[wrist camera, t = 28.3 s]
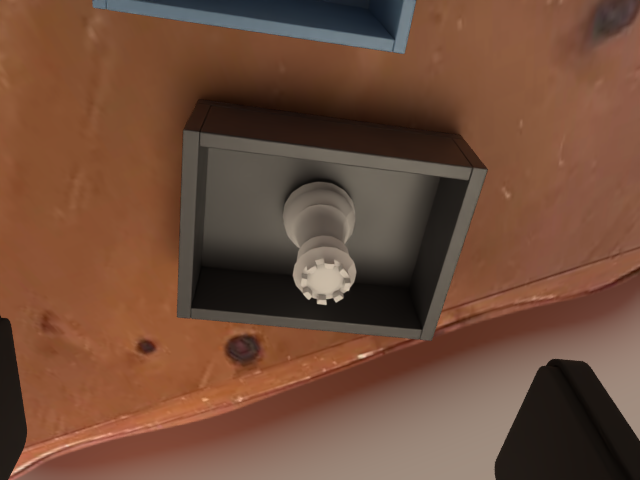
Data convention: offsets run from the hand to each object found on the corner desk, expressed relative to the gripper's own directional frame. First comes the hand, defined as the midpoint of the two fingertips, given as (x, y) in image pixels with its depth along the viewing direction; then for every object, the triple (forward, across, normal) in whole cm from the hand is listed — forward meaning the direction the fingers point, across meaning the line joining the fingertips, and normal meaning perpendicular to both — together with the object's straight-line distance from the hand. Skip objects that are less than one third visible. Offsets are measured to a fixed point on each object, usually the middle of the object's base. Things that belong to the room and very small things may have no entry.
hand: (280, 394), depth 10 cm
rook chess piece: (+24, -3, +8) cm, 25 cm away
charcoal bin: (+24, -3, +8) cm, 26 cm away
